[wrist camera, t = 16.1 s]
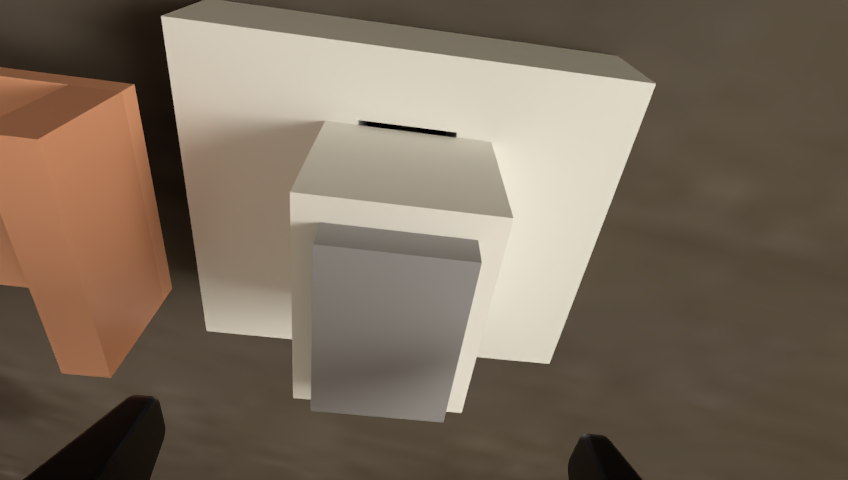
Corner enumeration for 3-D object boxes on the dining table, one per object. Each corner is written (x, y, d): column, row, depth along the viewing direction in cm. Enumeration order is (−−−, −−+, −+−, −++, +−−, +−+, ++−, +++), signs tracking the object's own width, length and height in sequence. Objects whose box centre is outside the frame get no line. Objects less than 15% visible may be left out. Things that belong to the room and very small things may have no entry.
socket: (534, 308, 20) (549, 363, 18) (234, 277, 19) (206, 330, 17) (616, 55, 15) (656, 83, 12) (208, -2, 14) (160, 15, 12)
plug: (454, 275, 18) (467, 440, 12) (327, 262, 18) (281, 423, 12) (487, 117, 15) (524, 241, 9) (333, 96, 15) (273, 212, 9)
